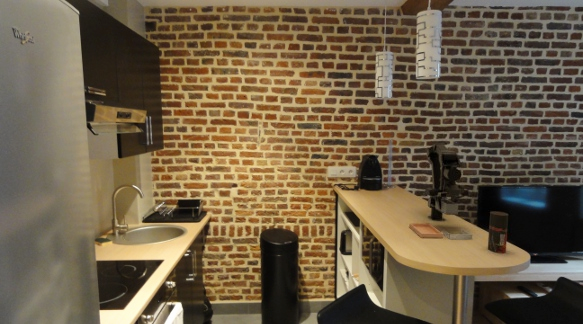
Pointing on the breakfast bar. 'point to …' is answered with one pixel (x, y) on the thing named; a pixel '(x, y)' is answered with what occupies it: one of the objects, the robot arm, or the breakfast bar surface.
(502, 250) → the deodorant
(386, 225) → the breakfast bar surface
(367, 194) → the breakfast bar surface
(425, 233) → the tray
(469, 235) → the bay
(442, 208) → the box
